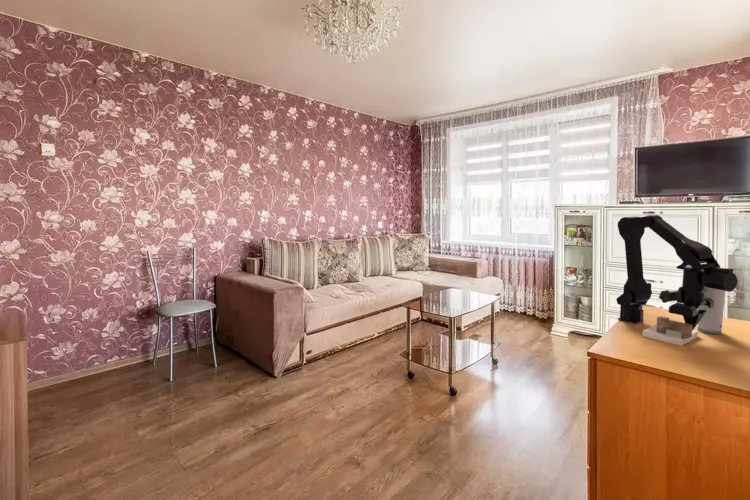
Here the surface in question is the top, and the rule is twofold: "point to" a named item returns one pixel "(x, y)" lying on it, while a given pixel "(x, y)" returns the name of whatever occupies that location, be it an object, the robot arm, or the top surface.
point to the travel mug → (713, 312)
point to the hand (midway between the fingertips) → (689, 331)
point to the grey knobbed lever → (674, 326)
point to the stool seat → (668, 335)
